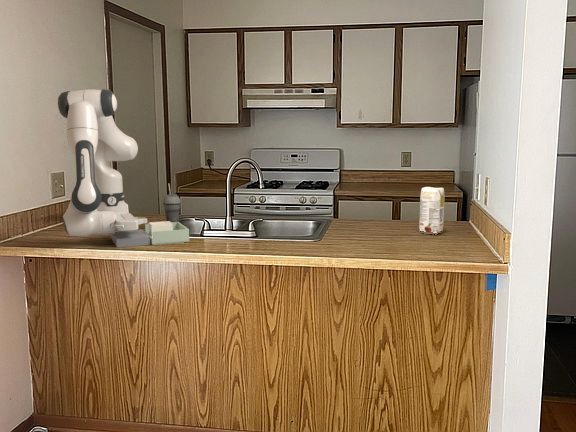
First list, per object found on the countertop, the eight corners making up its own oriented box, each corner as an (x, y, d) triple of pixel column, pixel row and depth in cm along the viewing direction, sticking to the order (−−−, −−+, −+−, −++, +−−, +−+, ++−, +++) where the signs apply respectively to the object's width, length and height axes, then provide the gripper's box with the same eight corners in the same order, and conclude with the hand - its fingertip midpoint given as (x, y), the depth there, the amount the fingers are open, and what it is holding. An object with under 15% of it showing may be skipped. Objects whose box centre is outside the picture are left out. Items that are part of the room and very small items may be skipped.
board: (111, 239, 229) (111, 231, 229) (143, 237, 234) (142, 229, 233) (117, 247, 215) (116, 239, 214) (150, 244, 219) (149, 236, 219)
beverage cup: (177, 232, 244) (176, 184, 241) (161, 231, 246) (159, 183, 242) (184, 229, 251) (182, 182, 248) (168, 228, 253) (166, 182, 249)
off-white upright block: (148, 222, 229) (169, 221, 232) (149, 237, 230) (169, 236, 233) (151, 224, 223) (172, 223, 226) (152, 240, 224) (172, 238, 227)
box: (143, 236, 235) (143, 224, 234) (178, 234, 240) (178, 221, 240) (152, 245, 219) (151, 231, 218) (189, 242, 224) (188, 229, 223)
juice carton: (437, 236, 236) (439, 189, 233) (417, 233, 241) (418, 187, 238) (444, 233, 242) (446, 187, 239) (424, 231, 247) (426, 186, 244)
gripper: (112, 218, 210) (151, 216, 216) (106, 210, 229) (142, 208, 234) (113, 235, 211) (152, 233, 217) (106, 226, 230) (142, 224, 235)
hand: (146, 220), depth 226 cm, fingers closed
